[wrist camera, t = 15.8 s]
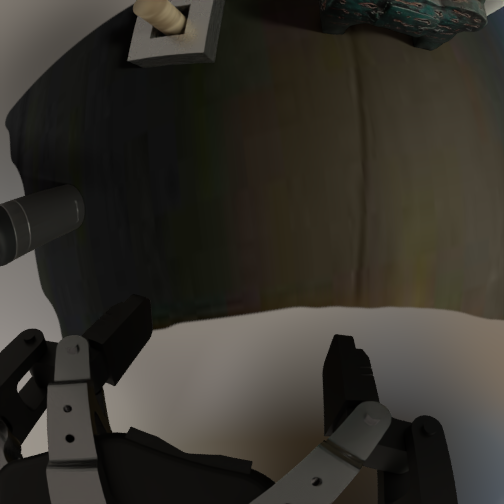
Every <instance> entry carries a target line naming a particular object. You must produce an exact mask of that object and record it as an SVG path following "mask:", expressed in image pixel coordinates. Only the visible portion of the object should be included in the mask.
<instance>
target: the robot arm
mask: <svg viewBox="0 0 504 504" xmlns="http://www.w3.org/2000/svg"><path fill="white" fill-rule="evenodd" d="M84 214H85V208H84V202H83V198H82V196H81V194H80V192H79V191H78V190H77V188H76V187H74V186H73V185H70V184H66V185H62V186H58V187H54V188H50V189H47V190H43V191H40V192H36V193H33V194H30V195H26V196H23V197H20V198H17V199H14V200H11V201H8V202H5V203H3V204H0V266H3V265H6V264H8V263H10V262H11V261H13V260H15V259H17V258H19V257H21V256H22V255H24V254H26V253H28V252H30V251H32V250H34V249H36V248H38V247H40V246H42V245H44V244H46V243H48V242H50V241H52V240H54V239H56V238H58V237H60V236H62V235H64V234H67V233H69V232H71V231H73V230H75V229H77V228H79V227H80V226H81V224H82V222H83V219H84ZM152 330H153V323H152V313H151V302H150V299H149V298H146V297H142V296H139V295H135V294H133V295H131V296H130V297H129V298H128V299H127V300H126V301H125V302H124V303H123V302H121V303H118V304H116V305H114V306H112V307H111V308H110V309H109V310H108V311H107V312H106V313H105V314H103V315H102V316H101V317H100V319H98V320H97V321H96V322H95V323H94V324H93V325H92V326H91V327H90V328H89V329H88V330H87V331H86V332H85V333H84V334H83V335H82V336H76V335H73V336H68V337H65V338H63V339H62V340H61V341H60V342H59V343H56V342H50V341H45V338H44V335H43V333H42V332H41V331H40V330H38V329H27V330H25V331H23V332H21V333H20V334H19V335H18V336H17V337H16V338H15V339H14V340H13V341H12V342H11V343H10V344H9V345H7V346H6V347H5V349H3V350H2V351H1V353H0V504H331V503H332V502H333V501H334V500H335V499H336V498H337V496H338V495H339V494H340V493H341V492H342V491H343V490H344V489H345V488H346V486H347V485H348V484H349V483H350V482H351V480H352V479H353V478H354V477H355V475H356V474H357V473H358V472H359V470H360V469H361V468H362V466H366V467H369V468H374V469H377V476H378V504H458V502H457V495H456V488H455V481H454V476H453V470H452V466H451V461H450V456H449V451H448V447H447V443H446V439H445V435H444V431H443V428H442V425H441V424H440V423H439V421H438V420H436V419H435V418H433V417H431V416H426V415H423V416H419V417H417V418H416V419H415V420H414V421H413V422H412V423H410V422H406V421H402V420H398V419H395V418H393V417H391V413H390V411H389V410H388V409H387V408H386V407H385V406H384V405H382V404H381V403H380V402H379V398H378V393H377V389H376V384H375V380H374V376H373V372H372V369H371V364H370V360H369V357H368V356H367V355H366V353H365V352H364V351H363V350H362V349H356V348H355V343H354V339H353V337H352V336H345V335H338V334H336V335H334V337H333V340H332V342H331V345H330V348H329V351H328V354H327V356H326V359H325V362H324V366H323V399H324V436H330V437H329V438H328V439H327V440H326V441H325V440H324V441H323V442H322V443H320V444H319V445H318V446H317V447H316V448H315V449H314V450H313V451H312V452H311V453H310V454H309V455H308V456H307V457H306V458H305V459H304V460H302V461H301V462H300V463H299V464H298V465H297V466H296V467H295V468H293V470H291V471H290V472H289V473H288V474H286V475H285V476H284V477H283V478H282V479H281V480H279V481H278V482H277V483H275V482H274V481H272V480H271V479H270V478H269V477H267V476H266V475H264V474H262V473H260V472H258V471H256V470H254V469H251V466H252V461H248V460H242V459H237V458H232V457H227V456H223V455H205V454H188V453H185V452H183V451H181V450H179V449H177V448H176V447H174V446H172V445H170V444H169V443H167V442H165V441H164V440H162V439H160V438H159V437H157V436H154V435H151V434H148V433H146V432H143V431H140V430H138V429H136V428H133V427H130V429H129V431H128V432H127V433H118V432H117V433H112V430H111V427H110V424H109V419H108V414H107V408H106V403H105V396H104V390H103V385H104V384H105V383H109V384H111V385H113V386H116V384H117V383H118V381H119V380H120V379H121V377H122V375H124V373H125V372H126V370H127V369H128V368H129V366H130V365H131V363H132V362H133V361H134V359H135V358H136V357H137V355H138V354H139V353H140V351H141V349H142V348H143V347H144V346H145V344H146V343H147V341H148V340H149V339H150V337H151V334H152ZM28 371H30V373H31V375H32V377H31V378H30V380H29V381H28V382H27V383H26V385H25V386H24V387H23V388H22V389H21V390H20V392H19V393H18V392H17V384H18V382H19V381H20V380H21V379H22V377H23V376H24V375H25V374H26V373H27V372H28ZM46 408H47V434H48V450H49V451H48V452H45V453H41V454H38V455H34V456H30V457H26V458H23V456H22V454H21V445H22V443H23V442H24V440H25V439H26V437H27V436H28V434H29V433H30V431H31V430H32V428H33V427H34V425H35V424H36V422H37V421H38V420H39V418H40V417H41V415H42V414H43V413H44V411H45V410H46Z"/></svg>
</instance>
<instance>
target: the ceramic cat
mask: <svg viewBox="0 0 504 504" xmlns="http://www.w3.org/2000/svg"><path fill="white" fill-rule="evenodd" d="M485 1H486V0H319V7H320V17H321V23H322V31H323V33H328V34H344V33H345V30H346V29H347V28H348V27H349V26H351V25H355V24H362V23H368V24H372V25H374V26H378V27H384V28H388V29H390V30H394V31H397V32H400V33H404V34H407V35H410V36H412V38H413V42H414V47H417V48H424V49H427V50H430V51H431V50H434V49H436V48H438V47H439V46H440V45H442V44H443V43H445V42H447V41H449V40H451V39H452V38H453V37H454V36H455V35H456V34H457V33H459V32H463V31H471V32H475V31H478V30H480V29H482V28H483V27H484V26H485V25H486V24H487V16H486V11H485V6H484V3H485Z"/></svg>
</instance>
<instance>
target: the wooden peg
mask: <svg viewBox="0 0 504 504" xmlns="http://www.w3.org/2000/svg"><path fill="white" fill-rule="evenodd" d="M133 12H134V13H135V14H136V15H137V16H139V17H141V18H142V19H144V20H145V21H146V22H148V23H149V24H151V25H152V26H154V27H155V28H157V29H158V30H159V31H161V32H162V33H164V34H165V35H166V36H173V35H181V34H185V29H186V24H187V18H186V17H185V16H184V15H183V14H182V13H181V12H180V11H179V10H178V9H177V8H176V7H174V6H173V5H172V4H171V3H170V2H169V1H168V0H137V1H136V2H135V4H134V6H133Z"/></svg>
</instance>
